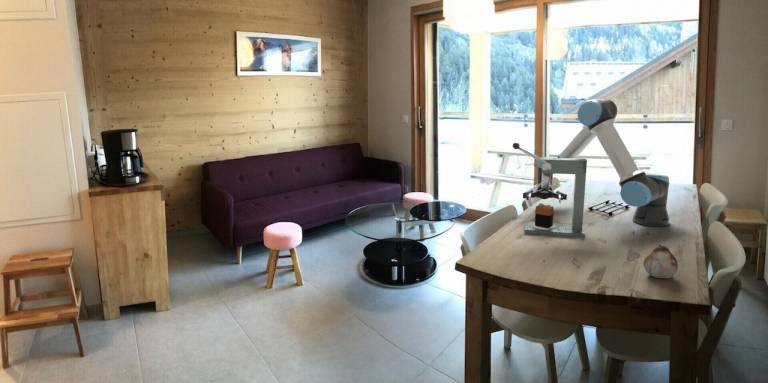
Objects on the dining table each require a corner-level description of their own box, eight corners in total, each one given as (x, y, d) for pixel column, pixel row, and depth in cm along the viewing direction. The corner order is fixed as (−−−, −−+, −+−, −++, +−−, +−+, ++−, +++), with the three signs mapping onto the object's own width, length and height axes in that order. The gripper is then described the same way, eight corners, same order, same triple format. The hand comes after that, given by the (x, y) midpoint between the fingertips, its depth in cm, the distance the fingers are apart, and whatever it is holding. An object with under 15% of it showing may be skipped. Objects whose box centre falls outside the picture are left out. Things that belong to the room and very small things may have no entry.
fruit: (643, 279, 164) (646, 245, 162) (640, 269, 173) (643, 237, 170) (678, 283, 161) (682, 248, 158) (673, 273, 169) (677, 240, 167)
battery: (538, 223, 224) (539, 202, 221) (552, 226, 219) (554, 204, 217) (534, 225, 220) (535, 204, 218) (549, 228, 216) (550, 206, 214)
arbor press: (582, 229, 221) (588, 140, 213) (584, 238, 209) (591, 144, 200) (511, 224, 231) (514, 139, 223) (509, 233, 218) (512, 142, 210)
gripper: (570, 198, 246) (572, 208, 226) (519, 196, 254) (516, 206, 234) (571, 184, 244) (573, 192, 225) (519, 182, 252) (517, 191, 232)
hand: (544, 199), depth 229 cm, fingers open, 13 cm apart
